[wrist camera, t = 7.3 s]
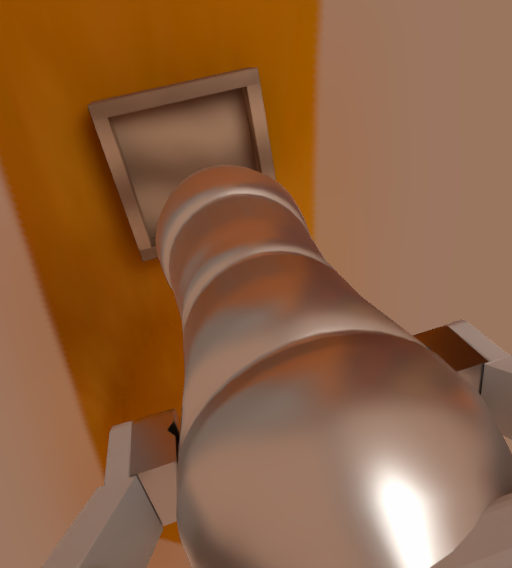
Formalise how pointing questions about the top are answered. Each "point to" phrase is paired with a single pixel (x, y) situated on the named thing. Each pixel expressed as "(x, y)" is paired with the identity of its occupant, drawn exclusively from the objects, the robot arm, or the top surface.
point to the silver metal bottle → (309, 400)
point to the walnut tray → (179, 140)
